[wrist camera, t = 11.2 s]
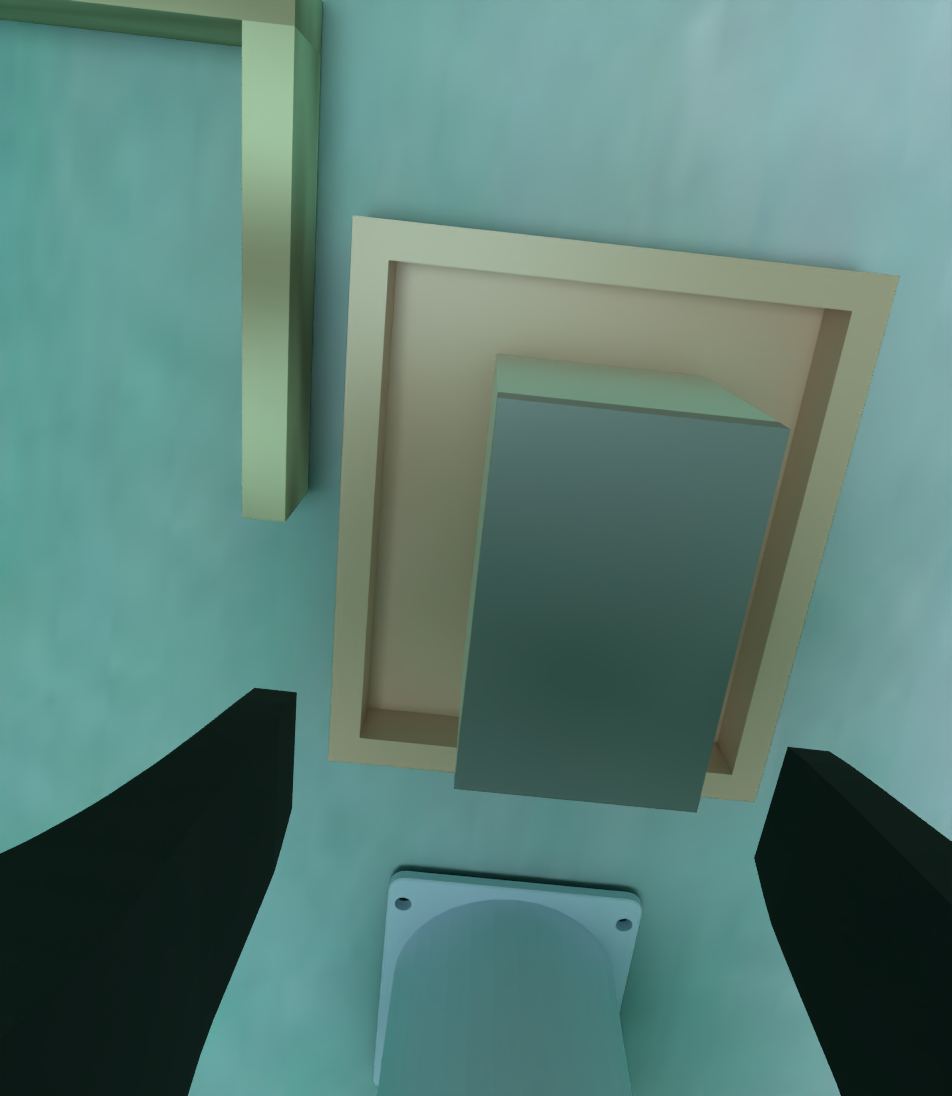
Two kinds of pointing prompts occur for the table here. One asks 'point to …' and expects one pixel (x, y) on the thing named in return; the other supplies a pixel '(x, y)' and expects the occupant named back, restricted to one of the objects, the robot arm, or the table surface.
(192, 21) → the bay
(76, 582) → the table surface
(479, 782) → the grey-green upright block
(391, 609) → the tray
